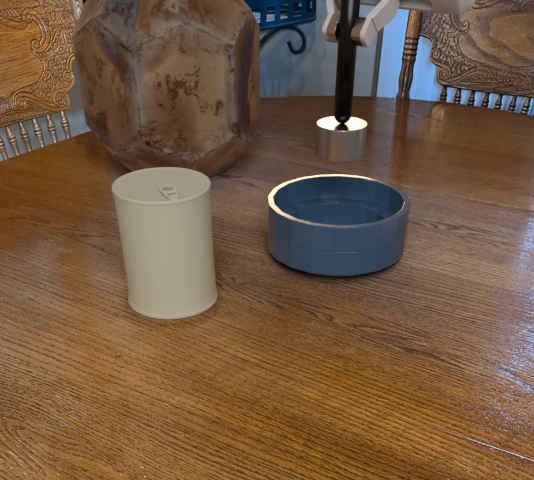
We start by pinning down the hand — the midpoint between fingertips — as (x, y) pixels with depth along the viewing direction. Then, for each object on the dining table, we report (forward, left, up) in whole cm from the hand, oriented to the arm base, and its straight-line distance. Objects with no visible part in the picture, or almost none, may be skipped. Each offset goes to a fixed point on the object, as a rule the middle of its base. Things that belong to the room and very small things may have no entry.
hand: (344, 40), depth 66 cm
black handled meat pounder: (0, -1, -10) cm, 10 cm away
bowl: (0, 0, -21) cm, 21 cm away
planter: (+19, -29, -21) cm, 41 cm away
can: (+18, +10, -21) cm, 29 cm away
